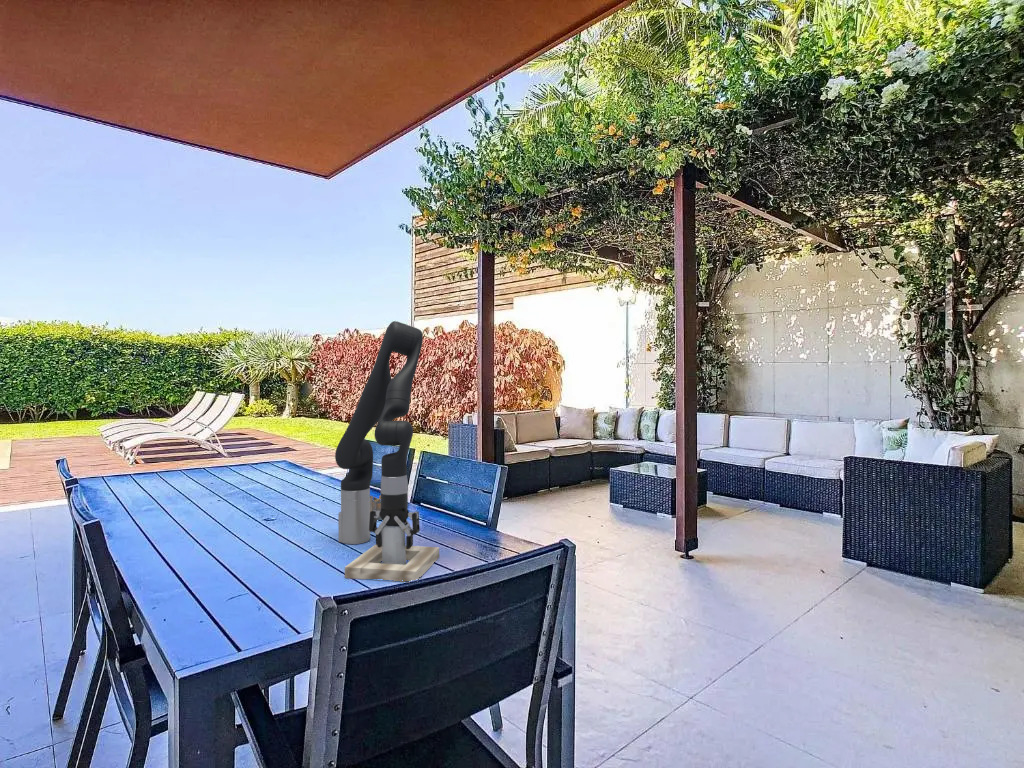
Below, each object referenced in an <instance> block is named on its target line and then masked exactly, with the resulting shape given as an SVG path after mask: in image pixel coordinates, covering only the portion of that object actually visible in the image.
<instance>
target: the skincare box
mask: <svg viewBox="0 0 1024 768" xmlns="http://www.w3.org/2000/svg"><path fill="white" fill-rule="evenodd" d="M381 535H382V563H383V564H399V565H406V564H407V561H406V547H405V545H406V533H405V532H404V530H402V529H401V527H400V526H387V525H385V526H384V528H383V529H382V530H381Z"/></svg>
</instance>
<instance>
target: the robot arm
mask: <svg viewBox="0 0 1024 768" xmlns="http://www.w3.org/2000/svg"><path fill="white" fill-rule="evenodd" d="M386 328H387V329H386V330H385V332H384V336H383V338H382V341H381V344H380V347H379V351H378V354H377V357H376V359H375V362H374V365H373V368H372V369H371V372H370V374H369V377H368V379H367V382H366V383H365V385H364V387H363V390H362V393H361V395H360V398H359V401H358V402H357V406H356V407H355V410H354V412H353V415H352V417H351V419H350V422H349V423H348V425H347V428H346V430H345V432H344V433H343V435H342V437H341V439H340V440H339V443H338V444H337V447H336V449H335V453H334V459H335V463H336V465H337V466H338V468H340V469H343V470H349V472H348V473H347V475H346V476H345V477H344V478H342V479H341V481H340V512H338V514H337V515H338V521H337V522H338V543H343V544H346V545H358V544H363V543H364V544H365V543H367V542H369V541H370V540H371V533H374V534H375V544H376V545H378V547H382V535H381V530H382V529H383V528H384V526H385V525H387V526H400V527H401V529H402V530H404V532H405V545H406V549H410V548H411V547H412V546H414V535H417V534H418V533H419V532H420V531H421V529H420V528H421V527H420V525H421V524H420V514H419V513H420V512H419V511H418V510H415V512H413V511H412V512H411V511H410V512H409V509H408V507H409V505H408V503H409V499H408V497H409V494H408V493H409V485H408V475H407V474H408V467H407V466H408V454H409V449H410V446H411V442H412V439H413V435H414V427H413V425H412V423H410V421H407V420H396V419H398V418H402V417H404V416H406V415H408V414H409V412H410V404H411V394H412V387H413V383H414V378H415V375H416V372H417V368H418V367H417V366H418V365H419V364H418V363H419V359H420V354H421V350H422V348H423V339H424V336H423V332H422V330H421V329H419V328H418V327H415V326H412V325H408V324H406V323H402V322H400V321H397V320H394V321H393V320H392V321H391V322H390V323H389V325H388V326H387V327H386ZM392 353H396V354H399V355H402V356H406V360H405V361H406V362H405V363H404V365H403V366H402V368H401V369H400V370H399V371H398V372H397V373H396V374H395V376H393V377H392V376H391V369H390V361H391V355H392ZM374 427H375V428H374ZM373 428H374V440H375V442H376V443H377V444H378V445H380V446H399V447H398V450H397V451H395V452H391V453H387V454H384V455H383V456H382V457H381V479H380V495H381V499H380V500H381V511H377V510H376V509H374V510H373V511H371V512H370V496H371V482H372V479H373V468H374V467H373V466H374V451H373V447H372V444H371V443H370V441H369V440H367V439H366V437H367V436H368V433H370V431H371V430H372V429H373ZM379 515H380V517H381V518H382V520H383V521H381V522H380V524H379V525H378V526H377V523H378V521H377V518H378V517H379ZM408 518H409V519H410V520H411V522H412V523H411V524H412V525H411V524H410V522H409V521H408ZM411 526H412V527H411Z"/></svg>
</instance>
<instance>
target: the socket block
mask: <svg viewBox="0 0 1024 768" xmlns="http://www.w3.org/2000/svg"><path fill="white" fill-rule="evenodd" d="M405 547H406V544H405ZM439 558H440V547H438V546H437V547H436V546H422V545H412V547H411V548H410V549H406V560H409V561H408V562H406V565H399V564H383V561H382V547H378V545H376V543H375V544H374V545H373V546H371V547H370V548H369V549H367V550H366V551H365V552H363V553H362V554H361V555H359V556H357V557H356V558H355V559H354V560H352V561H351V562H350V563H348V564H347V565H345V566H344V578H345V579H352V580H366V579H383V580H394V581H393V582H395V581H400V582H399V583H406V582H405V581H411V580H416V579H419V580H420V579H421V578H422V577H423V576H424V575H423V574H425V573H427V571H429V569H430V568H431V567H432V566H433V565H434V564H435V563H436V561H438V560H439ZM381 561H382V562H381ZM434 562H435V563H434ZM433 563H434V564H433ZM421 576H422V577H421ZM419 577H421V578H419ZM402 580H403V581H402Z"/></svg>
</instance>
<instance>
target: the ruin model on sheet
mask: <svg viewBox="0 0 1024 768" xmlns="http://www.w3.org/2000/svg"><path fill="white" fill-rule="evenodd" d="M374 509H376V510H377V511H381V494H380V495H379V497H378V498H377V497H376V496H373V495H370V512H371V511H373V510H374ZM377 520H382V518H381V517H380V515H379V517H378V518H377Z"/></svg>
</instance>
